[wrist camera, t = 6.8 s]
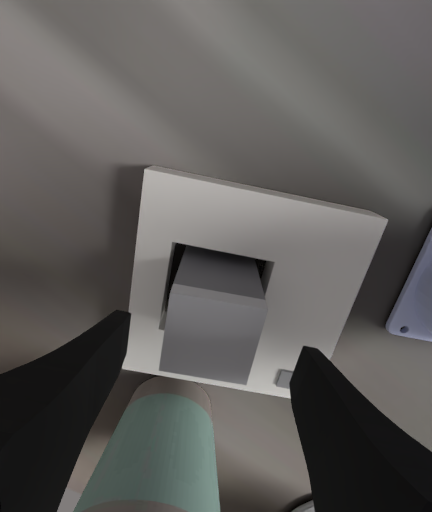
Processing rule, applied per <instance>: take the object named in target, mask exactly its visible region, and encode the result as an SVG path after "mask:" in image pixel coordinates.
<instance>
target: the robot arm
mask: <svg viewBox="0 0 432 512" xmlns="http://www.w3.org/2000/svg"><path fill="white" fill-rule="evenodd" d="M130 321H131V313H129V312H124V311H119V310H116V311H114V312H113V313H111V314H110V315H109V316H107V317H106V318H104V319H103V320H102V321H100V322H99V323H97V324H96V325H94V326H93V327H92V328H90V329H89V330H87V331H86V332H84V333H82V334H81V335H79V336H78V337H76V338H75V339H73V340H71V341H70V342H68V343H66V344H65V345H63V346H61V347H60V348H58V349H56V350H54V351H52V352H50V353H48V354H46V355H44V356H42V357H40V358H38V359H36V360H34V361H32V362H30V363H27V364H25V365H22V366H20V367H17V368H15V369H13V370H10V371H8V372H5V373H3V374H0V512H57V510H58V507H59V504H60V502H61V499H62V496H63V494H64V492H65V489H66V487H67V484H68V482H69V479H70V476H71V474H72V471H73V469H74V466H75V464H76V462H77V459H78V457H79V454H80V452H81V449H82V447H83V445H84V442H85V440H86V438H87V435H88V433H89V431H90V429H91V427H92V425H93V423H94V421H95V419H96V417H97V416H98V414H99V412H100V410H101V408H102V406H103V404H104V402H105V400H106V398H107V397H108V395H109V393H110V391H111V389H112V387H113V385H114V383H115V381H116V379H117V377H118V375H119V373H120V370H121V367H122V365H123V362H124V359H125V357H126V354H127V347H128V338H129V329H130ZM403 326H405V327H404V328H403V329H401V327H403ZM386 329H387V330H388V331H389V333H391V334H393V335H399V336H404V337H409V338H414V339H420V340H425V341H430V342H432V228H431V230H430V232H429V235H428V237H427V239H426V241H425V243H424V245H423V247H422V249H421V251H420V253H419V256H418V258H417V260H416V262H415V264H414V266H413V268H412V270H411V272H410V274H409V277H408V279H407V281H406V283H405V285H404V287H403V289H402V291H401V293H400V295H399V297H398V300H397V302H396V304H395V306H394V308H393V310H392V312H391V314H390V316H389V318H388V321H387V323H386ZM289 387H290V396H291V403H292V409H293V413H294V417H295V421H296V425H297V429H298V433H299V437H300V441H301V445H302V449H303V452H304V456H305V460H306V464H307V469H308V473H309V478H310V484H311V490H312V497H313V503H314V509H315V512H432V452H431V451H430V450H428V449H427V448H426V447H424V446H423V445H421V444H420V443H419V442H417V441H416V440H415V439H413V438H412V437H411V436H409V435H408V434H407V433H406V432H404V431H403V430H402V429H400V428H399V427H398V426H397V425H396V424H395V423H393V422H392V421H391V420H390V419H389V418H387V417H386V416H385V415H384V414H383V413H382V412H380V411H379V410H378V409H377V408H376V407H375V406H374V405H373V404H372V403H371V402H370V401H369V400H368V399H366V398H365V397H364V396H363V395H362V394H361V393H360V392H359V391H358V390H357V389H356V388H355V387H354V386H353V385H352V384H351V383H350V382H349V381H348V380H347V378H346V377H345V376H344V375H343V374H342V373H341V372H340V371H339V370H338V369H337V368H336V367H335V366H334V365H333V364H332V362H331V361H330V360H329V359H328V358H327V357H326V356H325V355H324V354H323V353H322V352H321V351H320V350H319V349H318V348H314V347H308V346H303V347H302V350H301V353H300V355H299V358H298V361H297V363H296V366H295V369H294V372H293V374H292V377H291V380H290V382H289Z"/></svg>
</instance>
